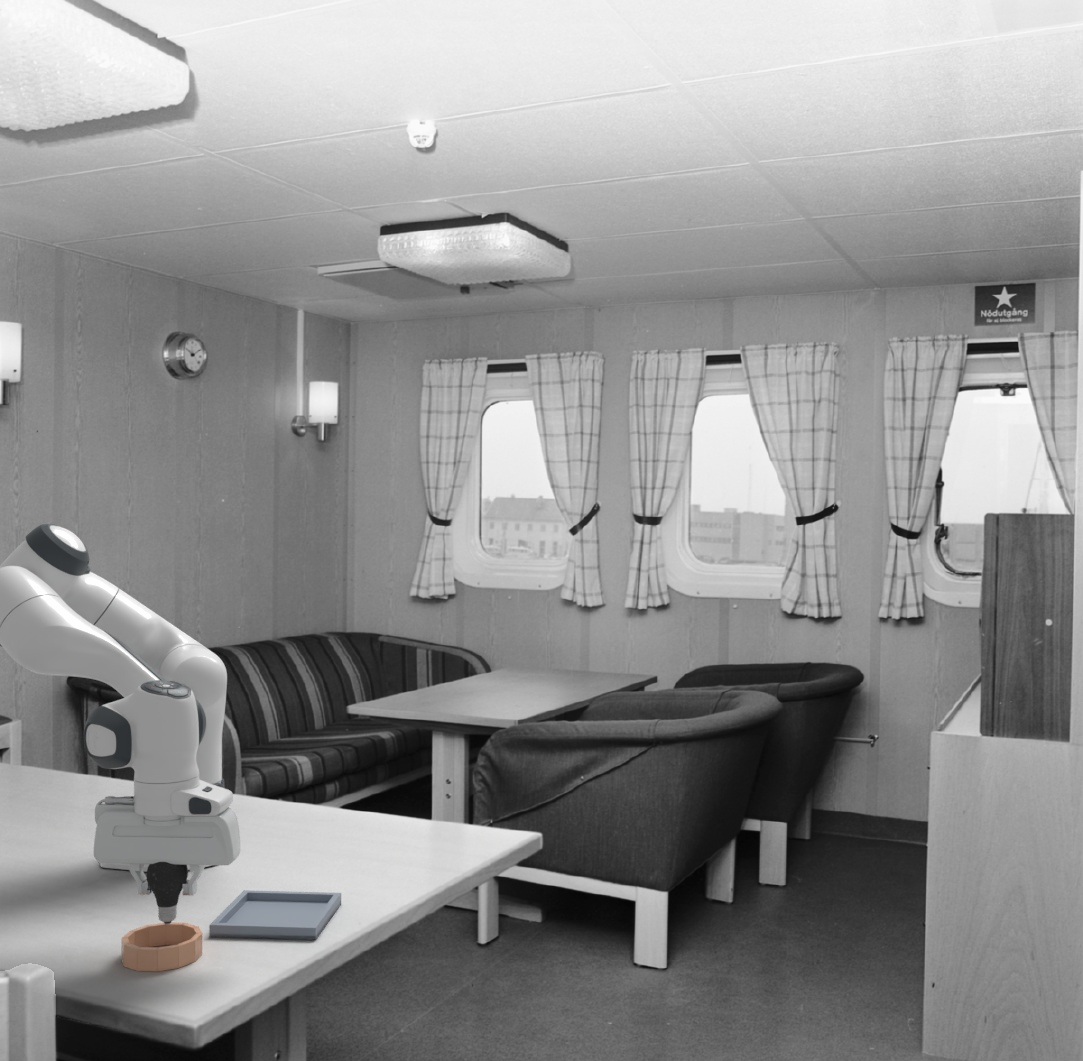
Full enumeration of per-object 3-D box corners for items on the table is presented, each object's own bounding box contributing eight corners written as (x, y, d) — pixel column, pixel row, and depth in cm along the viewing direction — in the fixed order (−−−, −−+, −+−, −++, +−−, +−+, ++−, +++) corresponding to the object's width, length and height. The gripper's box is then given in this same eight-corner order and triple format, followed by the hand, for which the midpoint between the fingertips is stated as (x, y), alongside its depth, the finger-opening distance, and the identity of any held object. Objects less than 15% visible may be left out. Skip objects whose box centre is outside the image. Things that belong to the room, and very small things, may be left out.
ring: (109, 969, 161) (109, 948, 161) (140, 941, 171) (140, 921, 171) (184, 972, 160) (185, 950, 160) (211, 943, 170) (211, 923, 170)
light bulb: (151, 916, 168) (151, 847, 168) (191, 915, 169) (191, 846, 169) (142, 931, 163) (141, 859, 163) (183, 929, 163) (183, 858, 163)
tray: (209, 936, 173) (209, 924, 173) (243, 901, 189) (243, 890, 189) (315, 939, 172) (315, 927, 172) (341, 903, 188) (341, 892, 188)
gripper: (85, 801, 163) (86, 900, 163) (229, 803, 162) (230, 902, 162) (104, 790, 169) (105, 885, 169) (243, 792, 168) (244, 887, 168)
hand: (167, 893), depth 166 cm, fingers closed on light bulb, 5 cm apart
